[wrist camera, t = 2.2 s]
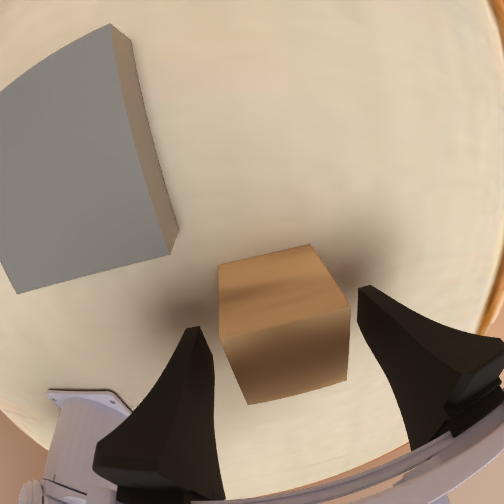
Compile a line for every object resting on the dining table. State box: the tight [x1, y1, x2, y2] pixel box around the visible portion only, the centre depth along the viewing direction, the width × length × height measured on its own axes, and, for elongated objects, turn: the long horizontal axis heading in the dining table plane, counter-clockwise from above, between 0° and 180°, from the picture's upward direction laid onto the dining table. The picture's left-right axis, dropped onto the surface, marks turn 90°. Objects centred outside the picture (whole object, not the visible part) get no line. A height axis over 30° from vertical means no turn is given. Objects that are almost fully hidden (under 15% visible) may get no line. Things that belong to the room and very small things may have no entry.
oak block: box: [218, 244, 351, 405], centre depth 12 cm, size 4×4×5 cm
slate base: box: [0, 24, 179, 294], centre depth 9 cm, size 9×9×2 cm
